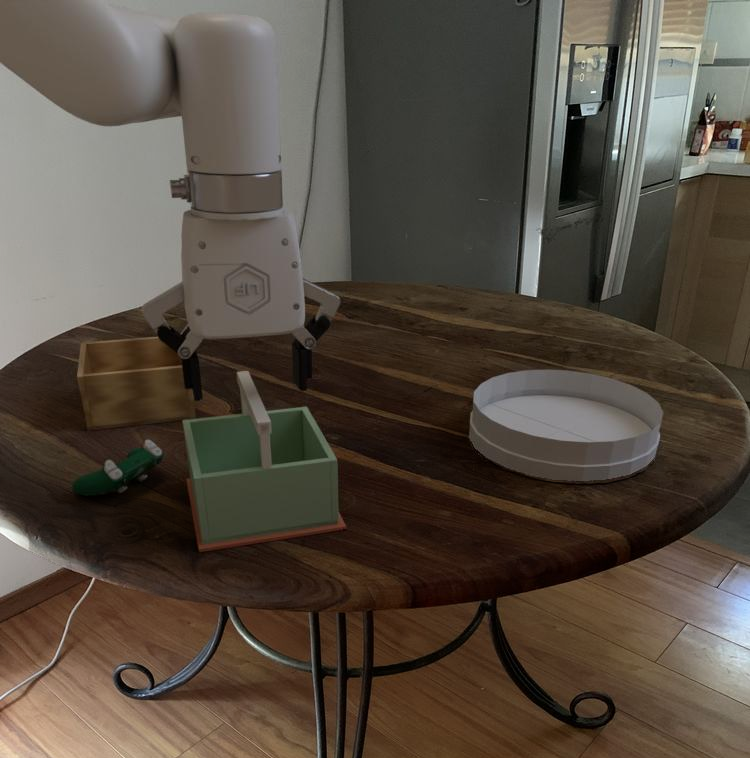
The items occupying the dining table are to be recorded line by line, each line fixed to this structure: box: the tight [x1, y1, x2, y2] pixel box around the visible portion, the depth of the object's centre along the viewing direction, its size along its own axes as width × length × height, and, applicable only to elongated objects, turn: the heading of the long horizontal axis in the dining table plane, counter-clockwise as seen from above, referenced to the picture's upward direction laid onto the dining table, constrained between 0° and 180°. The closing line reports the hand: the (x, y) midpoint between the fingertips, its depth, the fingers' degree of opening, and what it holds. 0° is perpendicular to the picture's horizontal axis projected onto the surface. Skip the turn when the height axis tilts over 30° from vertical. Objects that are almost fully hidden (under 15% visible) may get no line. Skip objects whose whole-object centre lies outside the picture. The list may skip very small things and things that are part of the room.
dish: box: [468, 368, 664, 481], centre depth 87 cm, size 22×22×5 cm
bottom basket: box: [76, 336, 197, 431], centre depth 95 cm, size 13×13×7 cm
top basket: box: [181, 370, 339, 545], centre depth 72 cm, size 13×13×12 cm
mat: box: [185, 477, 347, 553], centre depth 75 cm, size 14×14×1 cm
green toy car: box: [71, 439, 164, 497], centre depth 77 cm, size 9×4×6 cm
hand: (249, 390), depth 69 cm, fingers open, 9 cm apart
